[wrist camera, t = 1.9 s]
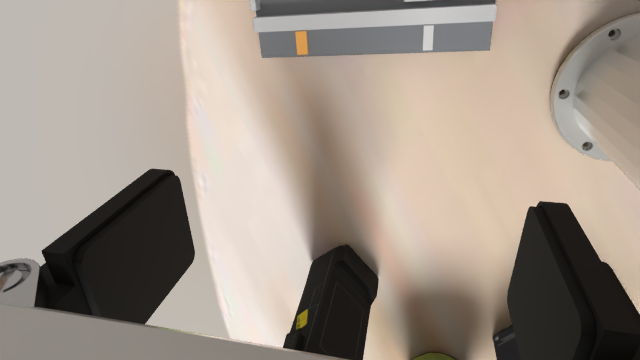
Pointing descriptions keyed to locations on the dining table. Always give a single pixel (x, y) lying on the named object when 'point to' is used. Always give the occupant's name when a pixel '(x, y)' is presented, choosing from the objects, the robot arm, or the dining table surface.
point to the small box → (506, 345)
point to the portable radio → (334, 306)
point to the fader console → (371, 26)
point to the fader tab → (413, 0)
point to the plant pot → (434, 357)
